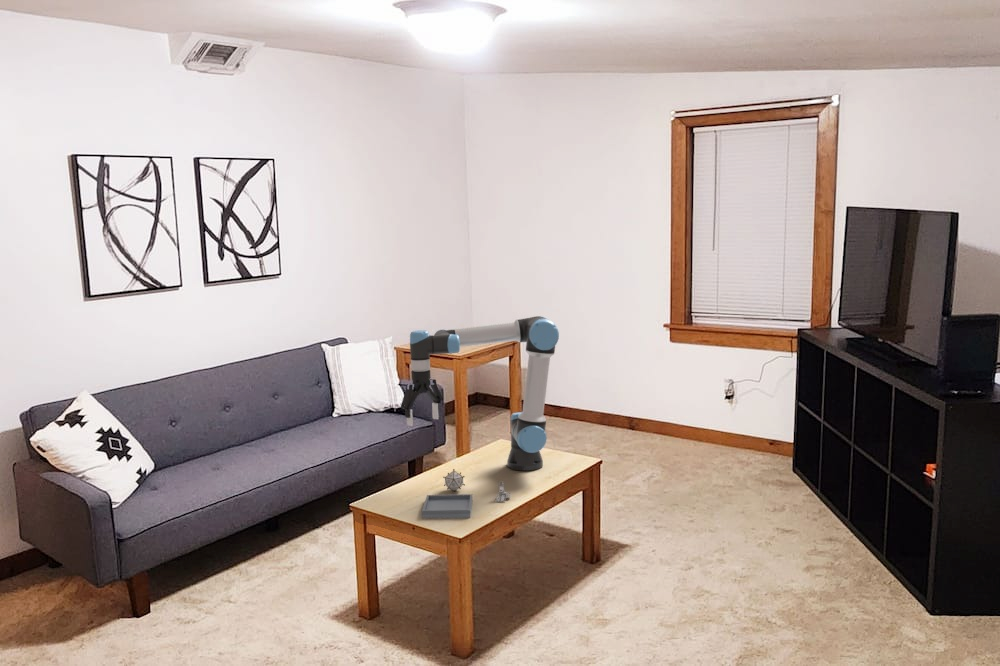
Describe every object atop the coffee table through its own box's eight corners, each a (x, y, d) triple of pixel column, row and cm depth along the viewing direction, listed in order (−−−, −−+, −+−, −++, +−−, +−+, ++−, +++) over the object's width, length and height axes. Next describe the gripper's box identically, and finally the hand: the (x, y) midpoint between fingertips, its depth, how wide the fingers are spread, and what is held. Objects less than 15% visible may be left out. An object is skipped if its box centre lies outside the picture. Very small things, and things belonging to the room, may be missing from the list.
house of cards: (516, 506, 308) (516, 486, 307) (493, 505, 310) (493, 485, 309) (520, 498, 317) (519, 479, 316) (497, 497, 318) (497, 478, 317)
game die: (462, 488, 329) (461, 464, 328) (468, 495, 321) (467, 470, 320) (440, 491, 326) (439, 466, 325) (446, 498, 318) (445, 472, 317)
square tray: (472, 501, 313) (472, 494, 313) (470, 518, 296) (470, 510, 296) (427, 502, 314) (427, 495, 313) (422, 518, 296) (421, 510, 296)
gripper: (437, 364, 339) (439, 414, 342) (390, 373, 321) (392, 426, 324) (450, 366, 334) (452, 417, 337) (402, 375, 316) (405, 429, 319)
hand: (422, 422), depth 330 cm, fingers open, 13 cm apart
